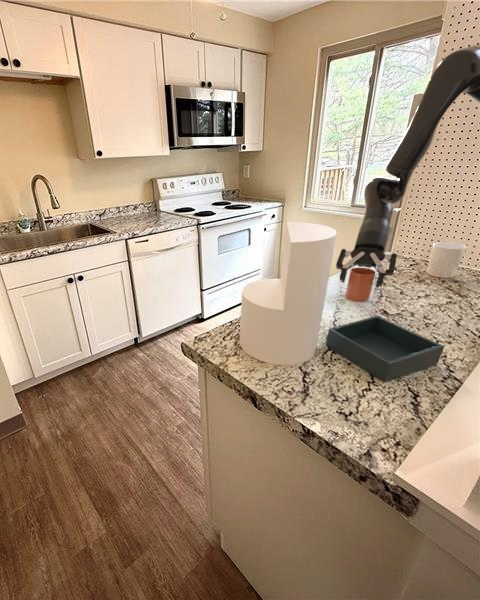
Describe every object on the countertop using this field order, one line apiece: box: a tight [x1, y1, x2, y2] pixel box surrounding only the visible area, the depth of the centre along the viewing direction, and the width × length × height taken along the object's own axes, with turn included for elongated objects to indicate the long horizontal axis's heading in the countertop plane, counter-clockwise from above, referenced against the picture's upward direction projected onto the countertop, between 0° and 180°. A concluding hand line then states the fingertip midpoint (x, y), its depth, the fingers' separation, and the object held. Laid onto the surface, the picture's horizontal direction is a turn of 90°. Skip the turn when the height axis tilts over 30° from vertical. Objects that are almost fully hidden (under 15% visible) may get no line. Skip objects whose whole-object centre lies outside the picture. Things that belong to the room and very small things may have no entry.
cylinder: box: [239, 221, 338, 366], centre depth 70 cm, size 17×17×28 cm
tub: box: [325, 315, 445, 383], centre depth 68 cm, size 14×14×5 cm
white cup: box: [426, 241, 468, 279], centre depth 101 cm, size 8×8×10 cm
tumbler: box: [344, 267, 376, 303], centre depth 92 cm, size 6×6×8 cm
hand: (359, 284), depth 91 cm, fingers open, 8 cm apart
